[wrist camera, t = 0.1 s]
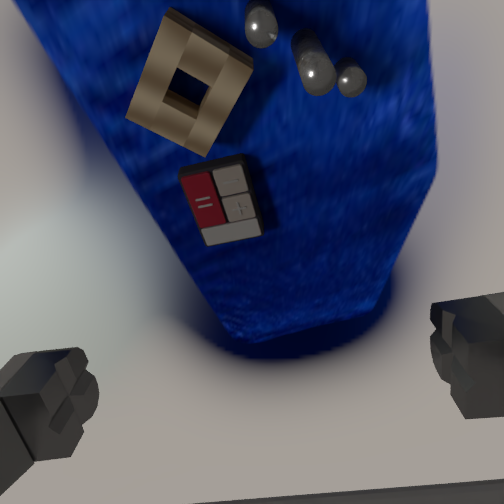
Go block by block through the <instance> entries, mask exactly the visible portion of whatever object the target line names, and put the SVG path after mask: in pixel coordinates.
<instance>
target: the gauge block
mask: <svg viewBox="0 0 504 504" xmlns="http://www.w3.org/2000/svg"><path fill="white" fill-rule="evenodd" d="M176 68H179V69H181V70H183V71H184V72H186V73H188V74H190V75H191V76H193V77H195V78H197V79H199V80H200V81H202V82H204V83H206V84H207V85H209V87H208V89H207V91H206V94H205V96H204V98H203V100H202V102H201V104H200V106H199V105H197V104H195V103H193V102H191V101H189V100H188V99H186V98H184V97H182V96H180V95H178V94H177V93H175V92H173V91H171V90H169V89H168V86H169V84H170V82H171V80H172V77H173V75H174V73H175V70H176ZM252 72H253V58H251V57H250V56H248V55H247V54H245V53H243V52H242V51H240V50H239V49H237V48H235V47H234V46H232V45H231V44H229V43H227V42H226V41H224V40H223V39H221V38H219V37H218V36H216V35H215V34H213V33H211V32H210V31H208V30H206V29H205V28H203V27H202V26H200V25H198V24H197V23H195V22H194V21H192V20H190V19H189V18H187V17H186V16H184V15H182V14H181V13H179V12H178V11H176V10H174V9H173V8H171V7H170V8H169V9H168V10H167V12H166V13H165V15H164V17H163V19H162V22H161V25H160V27H159V30H158V33H157V35H156V38H155V41H154V43H153V46H152V48H151V51H150V54H149V56H148V59H147V62H146V64H145V67H144V70H143V72H142V75H141V77H140V80H139V83H138V85H137V88H136V91H135V93H134V96H133V99H132V101H131V104H130V107H129V109H128V112H127V114H126V117H125V118H127V119H129V120H131V121H133V122H135V123H137V124H139V125H141V126H143V127H145V128H147V129H149V130H151V131H153V132H155V133H157V134H159V135H161V136H163V137H165V138H167V139H169V140H171V141H173V142H175V143H177V144H179V145H181V146H183V147H185V148H187V149H189V150H191V151H193V152H195V153H197V154H199V155H201V156H203V157H206V155H207V153H208V151H209V150H210V148H211V146H212V144H213V142H214V141H215V139H216V137H217V135H218V133H219V132H220V130H221V128H222V126H223V124H224V122H225V121H226V119H227V117H228V115H229V113H230V112H231V110H232V108H233V106H234V104H235V103H236V101H237V99H238V97H239V95H240V94H241V92H242V90H243V88H244V86H245V85H246V83H247V81H248V79H249V77H250V75H251V74H252Z"/></svg>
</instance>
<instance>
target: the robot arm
mask: <svg viewBox="0 0 504 504" xmlns="http://www.w3.org/2000/svg"><path fill="white" fill-rule="evenodd" d="M430 320H431V322H432V323H433V325H434V326H435V327H436V330H435V332H433V334H432V335H431V336H430V345H431V354H432V358H433V363H434V365H435V368H436V370H437V372H438V374H439V376H440V377H441V379H442V380H444V381H446V382H447V383H449V384H451V396H452V398H453V400H454V401H455V403H456V405H457V406H458V408H459V410H460V411H461V413H462V414H463V416H464V418H465V419H476V418H490V417H504V292H501V293H495V294H489V295H482V296H478V297H471V298H464V299H457V300H450V301H444V302H437V303H432V305H431V309H430ZM87 364H88V360H87V357H86V355H85V353H84V351H83V350H82V349H80V348H78V347H75V348H65V349H56V350H46V351H39V352H37V351H35V352H28V353H21V354H18V355H14V356H13V357H12V358H11V359H10V360H9V361H8V362H7V363H6V365H5V366H4V367H3V368H2V369H1V370H0V496H1V495H2V494H3V493H4V492H5V491H6V490H7V489H8V488H9V487H10V486H11V485H12V484H13V483H14V482H15V481H16V480H18V479H19V477H21V476H22V475H23V474H24V473H25V472H26V471H27V470H28V469H29V468H30V467H31V466H32V465H33V464H34V462H35V461H43V460H51V459H58V458H67V457H71V455H72V453H73V452H74V450H75V448H76V446H77V444H78V442H79V440H80V439H81V437H82V435H83V433H84V430H83V427H82V424H84V423H85V422H86V421H87V420H88V419H90V418H91V417H92V416H93V414H94V412H95V410H96V408H97V405H98V399H99V389H98V384H97V381H96V378H95V376H94V375H92V374H91V373H90V372H88V371H87V370H86V367H87ZM195 504H504V479H497V480H484V481H473V482H460V483H448V484H435V485H422V486H411V487H410V486H409V487H396V488H384V489H371V490H358V491H346V492H332V493H320V494H307V495H295V496H281V497H271V498H270V497H269V498H257V499H244V500H232V501H219V502H209V503H195Z"/></svg>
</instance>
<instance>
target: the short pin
mask: <svg viewBox="0 0 504 504" xmlns="http://www.w3.org/2000/svg"><path fill="white" fill-rule="evenodd" d="M334 68H335V70H336V74H337V78H336V84H337V86H338V88H339V90H340V92H341V93H342V94H343V95H344V96H346V97H355V96H358V95H359V94H361V93H362V92H363V90H364V89H365V87H366V84H367V77H366V75H365V73H364V72H363V70H362V69H361V67H360V66H359V65H358V63H357V62H356V61H355V60H354V59H353V58H350V57H344V58H342V59H340V60H338V61H337V62H336V64H335V65H334Z"/></svg>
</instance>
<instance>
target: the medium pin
mask: <svg viewBox="0 0 504 504" xmlns="http://www.w3.org/2000/svg"><path fill="white" fill-rule="evenodd" d="M245 33H246V37H247V39H248V41H249V42H250V44H252V45H253V46H255V47H257V48H266V47H268V46H270V45H271V44H272V43H273V42H274V41H275V39H276V37H277V34H278V25H277V21H276V18H275V14H274V11H273V7H272V5H271V3H270V1H269V0H250V1H249V2H248V3H247V5H246V8H245Z"/></svg>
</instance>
